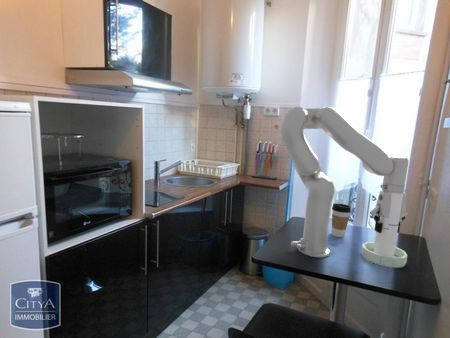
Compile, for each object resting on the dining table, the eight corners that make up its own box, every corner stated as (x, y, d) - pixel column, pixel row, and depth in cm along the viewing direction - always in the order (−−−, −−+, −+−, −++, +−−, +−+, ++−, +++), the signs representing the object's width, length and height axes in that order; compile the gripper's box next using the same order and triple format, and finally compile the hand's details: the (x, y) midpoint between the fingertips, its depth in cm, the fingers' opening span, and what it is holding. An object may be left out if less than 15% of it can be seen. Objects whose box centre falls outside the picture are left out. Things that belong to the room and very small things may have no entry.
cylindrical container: (396, 257, 116) (406, 194, 113) (376, 254, 118) (385, 192, 114) (390, 250, 123) (399, 190, 120) (371, 247, 124) (380, 188, 121)
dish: (378, 268, 112) (380, 258, 111) (353, 250, 127) (354, 242, 126) (414, 267, 115) (416, 257, 114) (386, 250, 130) (387, 241, 129)
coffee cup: (325, 232, 148) (328, 202, 146) (339, 231, 150) (343, 202, 148) (336, 238, 140) (340, 207, 138) (351, 237, 143) (355, 207, 140)
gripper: (380, 189, 111) (373, 235, 114) (420, 190, 115) (413, 235, 117) (366, 185, 119) (361, 228, 121) (405, 186, 122) (398, 228, 124)
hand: (386, 231), depth 119 cm, fingers closed on cylindrical container, 7 cm apart
